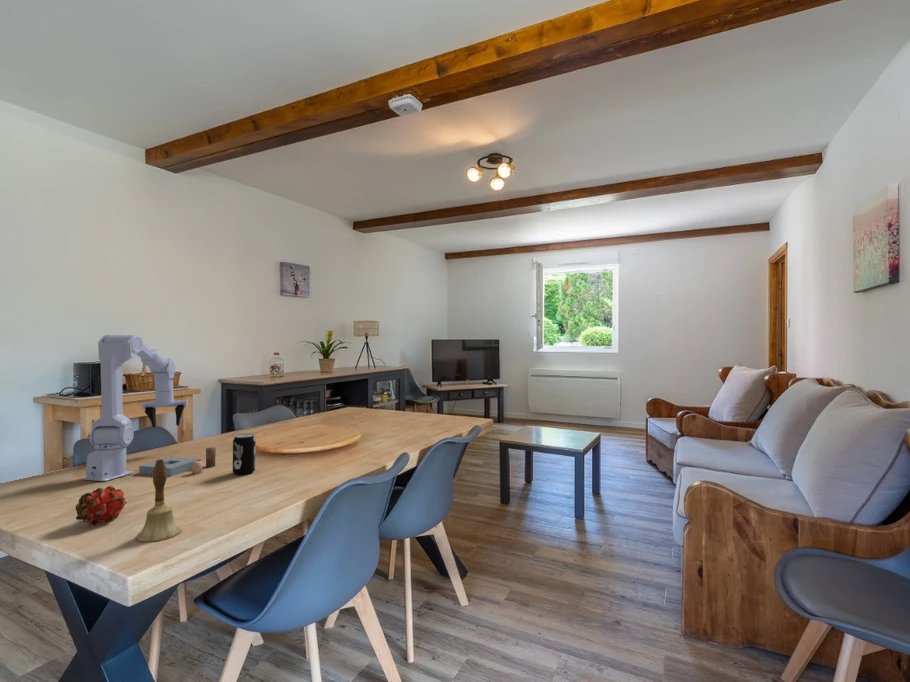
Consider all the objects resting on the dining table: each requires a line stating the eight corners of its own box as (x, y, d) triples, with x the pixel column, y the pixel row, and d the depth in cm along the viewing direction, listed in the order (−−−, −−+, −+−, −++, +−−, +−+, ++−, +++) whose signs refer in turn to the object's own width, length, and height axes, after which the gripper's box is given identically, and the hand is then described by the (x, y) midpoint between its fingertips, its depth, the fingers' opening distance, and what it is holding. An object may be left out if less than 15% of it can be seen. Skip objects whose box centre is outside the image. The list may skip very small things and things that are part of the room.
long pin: (211, 467, 150) (211, 449, 150) (203, 467, 151) (204, 449, 151) (217, 465, 153) (217, 447, 153) (210, 464, 154) (210, 447, 154)
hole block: (170, 476, 140) (171, 468, 140) (139, 473, 143) (139, 465, 143) (200, 466, 152) (200, 458, 152) (170, 464, 154) (170, 456, 154)
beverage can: (227, 474, 142) (228, 436, 142) (242, 469, 149) (242, 432, 149) (245, 476, 141) (246, 437, 141) (259, 470, 147) (260, 433, 147)
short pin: (197, 474, 142) (197, 463, 142) (189, 474, 143) (190, 463, 143) (204, 472, 145) (204, 461, 145) (196, 471, 145) (197, 460, 146)
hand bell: (125, 540, 94) (127, 464, 94) (158, 525, 102) (158, 454, 103) (161, 543, 93) (162, 465, 93) (190, 527, 101) (191, 456, 101)
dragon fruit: (72, 540, 98) (117, 526, 110) (106, 516, 98) (146, 505, 110) (55, 506, 99) (101, 496, 111) (88, 483, 100) (130, 475, 112)
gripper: (188, 386, 175) (190, 421, 177) (144, 389, 170) (146, 424, 172) (184, 390, 169) (186, 426, 170) (138, 393, 164) (141, 429, 165)
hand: (166, 425), depth 171 cm, fingers open, 7 cm apart
